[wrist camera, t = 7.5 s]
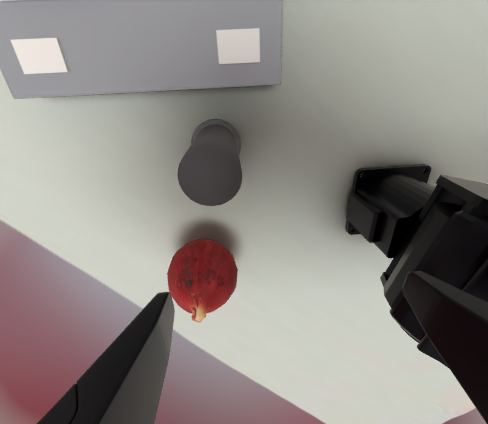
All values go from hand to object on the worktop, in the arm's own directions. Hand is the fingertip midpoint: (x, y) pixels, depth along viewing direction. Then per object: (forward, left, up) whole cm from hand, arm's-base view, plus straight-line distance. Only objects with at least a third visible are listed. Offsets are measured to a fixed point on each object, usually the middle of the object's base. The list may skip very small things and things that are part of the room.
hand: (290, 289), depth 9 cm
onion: (+5, +7, -13) cm, 16 cm away
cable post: (+3, -3, -13) cm, 14 cm away
